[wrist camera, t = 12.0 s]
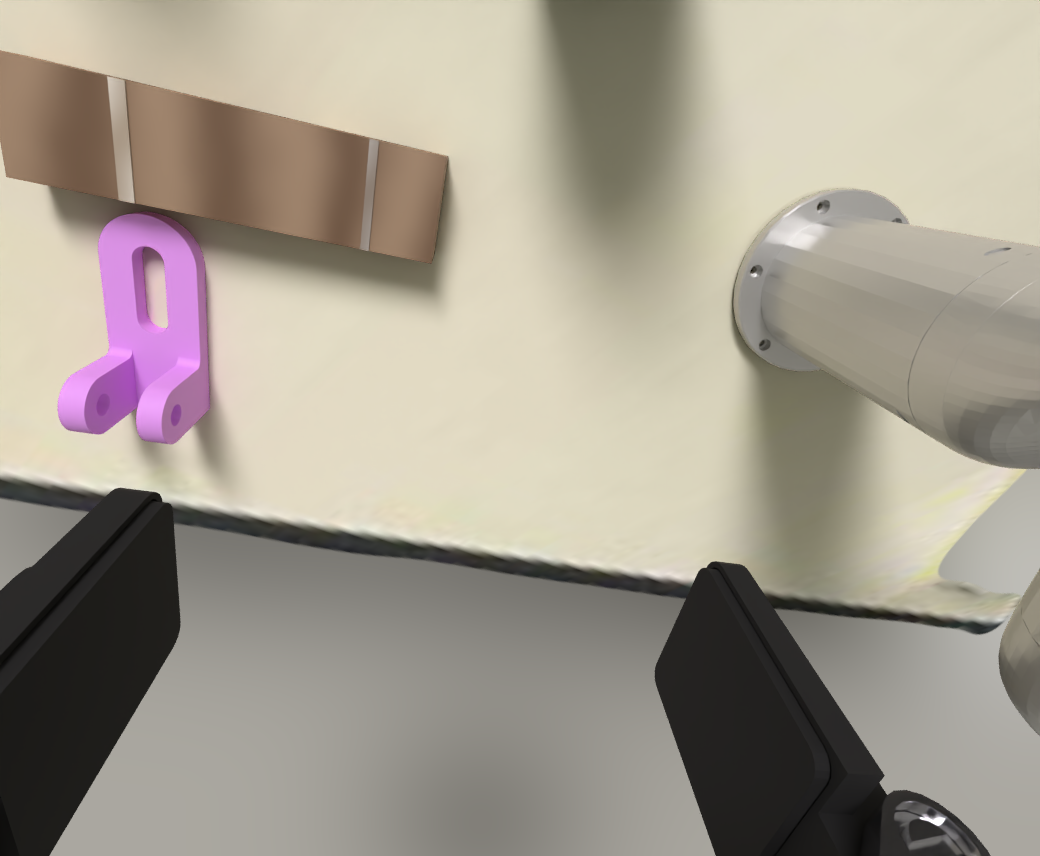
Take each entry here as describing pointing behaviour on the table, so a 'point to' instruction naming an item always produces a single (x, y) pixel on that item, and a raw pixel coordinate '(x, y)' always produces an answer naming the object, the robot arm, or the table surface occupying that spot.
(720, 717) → the robot arm
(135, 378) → the bracket
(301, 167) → the walnut plank
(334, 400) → the table surface
